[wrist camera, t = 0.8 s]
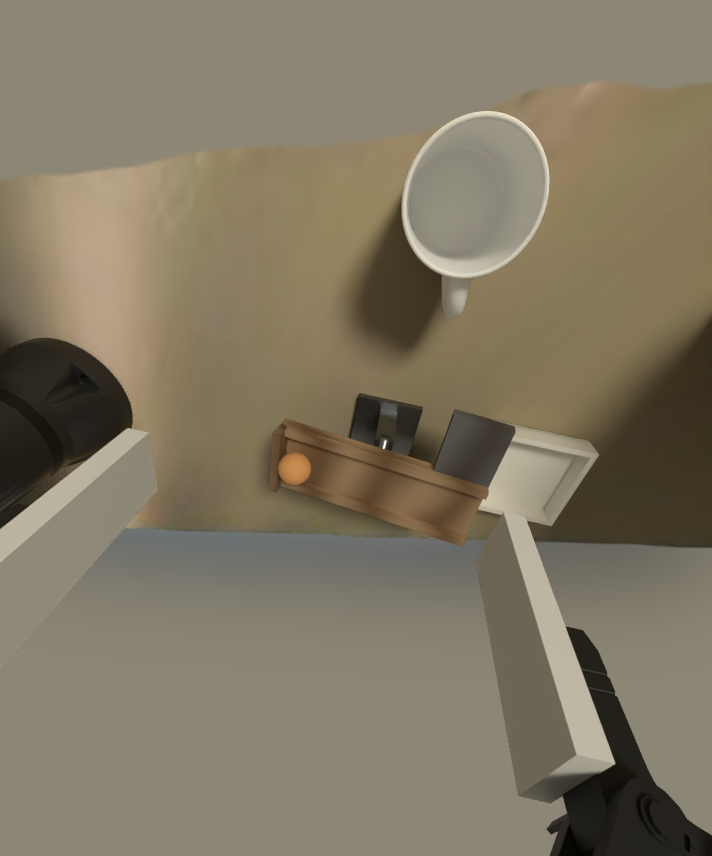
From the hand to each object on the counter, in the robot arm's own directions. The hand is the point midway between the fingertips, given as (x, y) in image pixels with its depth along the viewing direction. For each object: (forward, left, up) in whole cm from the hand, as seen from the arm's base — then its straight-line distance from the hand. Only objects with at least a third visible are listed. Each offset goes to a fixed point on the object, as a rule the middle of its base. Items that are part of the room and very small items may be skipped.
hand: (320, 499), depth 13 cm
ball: (-5, -14, -17) cm, 23 cm away
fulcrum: (+3, -14, -26) cm, 30 cm away
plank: (+3, -11, -19) cm, 22 cm away
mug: (+5, +8, -26) cm, 28 cm away
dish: (+20, -14, -26) cm, 35 cm away
